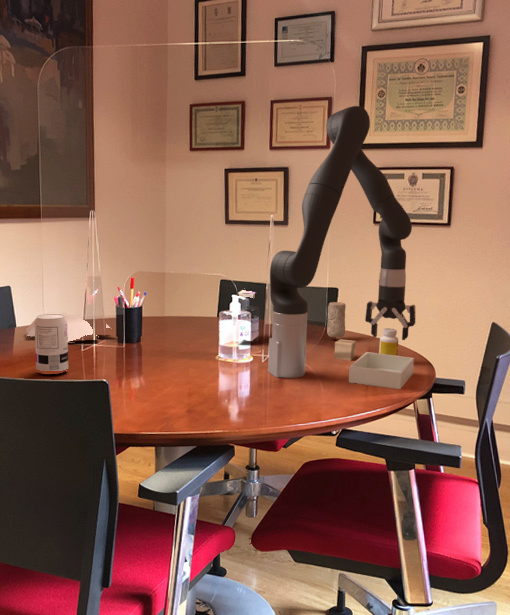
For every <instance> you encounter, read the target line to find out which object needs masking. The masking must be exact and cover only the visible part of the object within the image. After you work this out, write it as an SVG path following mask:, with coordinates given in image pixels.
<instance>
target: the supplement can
mask: <svg viewBox="0 0 510 615" xmlns="http://www.w3.org/2000/svg"><path fill="white" fill-rule="evenodd" d="M62 314H63V313H62ZM62 314H48V313H45V314H40V315H37V316H36V318H35V319H36V320H35V319H34V320H35V323H34V325H35V336H34V343H35V344H34V348H35V349H34V350H35V370H36V369H37V370H40V371H63V370H66V369H68V370H69V344H68V343H69V342H68V334H67V320H66V318H65V315H62ZM66 371H67V370H66Z"/></svg>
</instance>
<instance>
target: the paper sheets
mask: <svg viewBox="0 0 510 615" xmlns="http://www.w3.org/2000/svg"><path fill="white" fill-rule="evenodd" d="M83 317H84V316H82V317H80V316H79V315H77V316H75V315H67V314H66V315H65V318H66V320H67V334H68V343H70V342H69V341H73V340H76V339H80V338H81V337H83V336H85V335H86V336H87V335H92V334H93V329H92V327H91V326H90V324H89V323H88V322H87V321H85V320H83ZM35 320H36V318H35V319H33V321H32V323H30V325H28V327H26V329H25V331H26V337H27V336H30V337H35V325H34V323H35ZM106 328H111V327H110V326H109V325H108V324H107V323H106ZM27 333H28V334H27ZM96 336H97V335H96Z"/></svg>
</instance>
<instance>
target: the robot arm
mask: <svg viewBox="0 0 510 615" xmlns="http://www.w3.org/2000/svg"><path fill="white" fill-rule="evenodd" d="M325 126H326V133H327V136H328V137H329V140H330V141H331V144H332V147H331V150H330V152H329V153H328V155H327V156H326V157H325V159H324V160H323V162H322V163H321V164H320V166H318V168H317V169H316V170H315V172H314V174H313V175H312V177H311V179H310V181H309V183H308V185H307V188H306V190H305V193H304V196H303V198H302V203H301V212H302V213H301V214H302V221H303V232H302V237H301V240H300V243H299V245H298V247H297V250H296V251H293V250H280V251H278V252H276V253H275V255H274V256H273V258H272V260H271V262H270V268H269V294H270V296H269V297H270V301H271V304H272V330H271V334H272V335H271V337H270V338H269V341H268V367H267V371H268V373H270V375H272V376H274V377H275V378H277V379H278V378H282V379H283V378H284V379H294V378H295V379H296V378H301V377H304V376H305V375H306V354H307V328H308V306H309V305H308V302H307V300H306V299H305V298H304V297H303V296H301V294H300V293H299V290H298V289H303V288H306V287H307V286H309V285H310V284H311V283H312V281H313V280H314V279H315V278H314V277H315V275H316V272H317V270H318V267H319V263H320V262H319V261H320V259H321V255H322V251H323V248H324V245H325V241H326V237H327V235H328V232H329V229H330V227H331V224H332V220H333V218H334V215H335V213H336V211H337V208H338V207H339V206H338V205H339V203H340V200H341V197H342V195H343V192H344V188H345V186H346V184H347V181H348V179H349V175H350V174H351V172H352V173H353V175H354V176H355V179H357V181H358V183H359V185H360V186H361V187H360V188H362V191H363V192H364V194H365V196H366V199H367V201H368V203H369V205H370V207H371V208H372V210H373V211H374V212H375V213H377V214H378V215H379V216H380V217H381V220H380V222H379V225H378V226H379V227H378V239H379V240H378V241H379V246H380V250H381V252H380V253H381V255H380V256H381V258H380V272H379V276H378V277H379V279H378V296H377V297H378V298H377V299H378V300H377V302H374V301H372V300H371V301H368V302H367V303H366V309H365V319H364V320H365V322H366V323H368V324H371V328H370V329H371V330H370V334H371V335H372V337H373V338H377V337H378V325H379V324H378V322H379V321H380V319H381V318H382V317H383V318H384V319H391V320H392V319H393V320H395V319H397V320H398V322H399V323H400V324H401V326H403V327H402V332H401V333H402V334H401V335H402V336H401V340H402V341H405V340H406V339H407V338H408V337H409V328H411V327H414V326H415V325H416V305H415V304H412V305H407V304H406V303H405V299H406V298H405V295H406V282H407V281H406V280H407V277H406V276H407V275H406V266H407V265H406V264H407V252H406V250H405V249H404V248H403V246H402V240H405V239H407V238H408V237H410V235H411V233H412V230H413V229H412V228H413V226H412V220H411V219H410V216H409V215H408V213H407V212H406V210H405V209H404V207H403V206H402V204H401V203H400V202H399V201H398V199H397V198H396V196H395V193H394V191H393V189H392V188H391V186H390V183H389V182H388V180H387V178H386V176H385V174H383V172H382V171H381V170H380V169H379V167H377V165H375V164H374V162H372V160H370V158H369V157H368V156H367V155H366V154H365V152H364V151H363V149H362V146H363V145H364V142H365V140H366V138H367V136H368V134H369V130H370V127H371V119H370V115H369V113H368V111H367V110H366V109H365V108H364V107H363V106H359V105H353V106H348V107H345V108H343V109H341V110H339V111H336V112H334V113H332V114H331V115H329V117H328V119H327V121H326V125H325ZM375 307H376V309H377V310H378V312H379V313H377V315H376V316H375V317H374V318H372V316H373V310H374V309H375ZM405 310H406V311H407V313H408V314H409V321H408V320H407V319H406V316H405V315H404V311H405Z"/></svg>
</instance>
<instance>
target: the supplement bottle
mask: <svg viewBox="0 0 510 615" xmlns="http://www.w3.org/2000/svg"><path fill="white" fill-rule="evenodd" d="M397 333H398V331H397V329H394V328H383V329H382V335H381V336H380V337H379V345H378V346H379V347H378V353H379V354H387V355H395V356H398V352H399V351H398V350H399V338H398V337H397Z"/></svg>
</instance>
